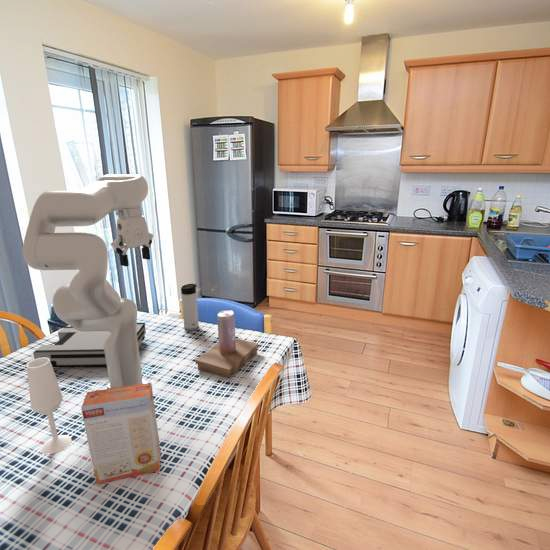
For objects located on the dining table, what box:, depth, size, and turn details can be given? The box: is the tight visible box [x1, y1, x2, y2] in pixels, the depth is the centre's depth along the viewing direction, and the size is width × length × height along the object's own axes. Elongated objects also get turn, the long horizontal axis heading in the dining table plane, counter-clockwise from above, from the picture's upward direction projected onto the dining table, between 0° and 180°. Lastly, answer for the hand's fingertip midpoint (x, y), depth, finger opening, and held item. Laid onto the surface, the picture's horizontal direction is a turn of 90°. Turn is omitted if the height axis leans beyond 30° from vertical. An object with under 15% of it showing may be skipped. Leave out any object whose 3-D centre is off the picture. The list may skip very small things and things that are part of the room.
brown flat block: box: [194, 337, 260, 380], centre depth 131 cm, size 20×14×4 cm
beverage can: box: [216, 309, 236, 355], centre depth 128 cm, size 6×6×15 cm
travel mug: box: [180, 283, 200, 332], centre depth 156 cm, size 6×7×20 cm
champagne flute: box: [26, 357, 72, 455], centre depth 90 cm, size 7×7×24 cm
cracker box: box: [80, 382, 162, 484], centre depth 83 cm, size 14×6×21 cm, turn 104°
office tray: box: [32, 322, 147, 368], centre depth 136 cm, size 21×32×8 cm, turn 91°
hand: (136, 262), depth 126 cm, fingers open, 9 cm apart
